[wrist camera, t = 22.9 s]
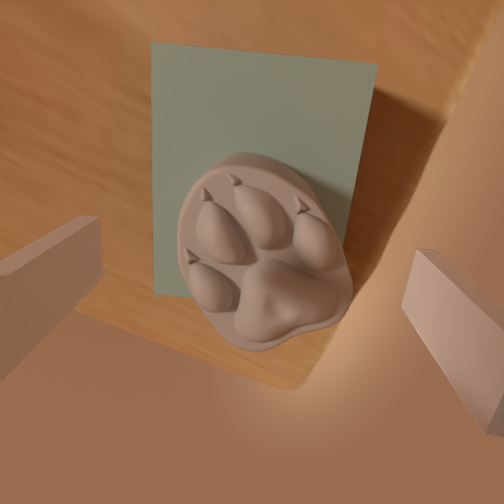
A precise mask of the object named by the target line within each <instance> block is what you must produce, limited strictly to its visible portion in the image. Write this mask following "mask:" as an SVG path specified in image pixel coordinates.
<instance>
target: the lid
mask: <svg viewBox="0 0 504 504" xmlns="http://www.w3.org/2000/svg"><path fill="white" fill-rule="evenodd" d="M377 69H378V64H376V63H365V62H355V61H344V60H334V59H323V58H313V57H302V56H292V55H281V54H271V53H260V52H250V51H239V50H228V49H218V48H207V47H197V46H186V45H176V44H165V43H155V42H151V93H152V181H153V270H154V294H157V295H167V296H177V297H187V298H193V296H192V294H191V292H190V290H189V288H188V286H187V284H186V282H185V280H184V277H183V276H182V273H181V271H180V268H179V264H178V256H177V225H178V218H179V214H180V211H181V208H182V205H183V203H184V200H185V198H186V196H187V194H188V192H189V190H190V189H191V187H192V185H193V184H194V183H195V182H196V181H197V180H198V178H199V177H200V176H201V175H202V174H203V173H205V172H206V171H207V170H208V169H209V168H210V167H211V166H212V165H213V164H214V163H215V162H216V161H218V160H219V159H220V158H222V157H224V156H226V155H228V154H231V153H235V152H251V153H257V154H261V155H265V156H268V157H271V158H273V159H275V160H277V161H279V162H281V163H282V164H284V165H285V166H287V167H289V168H290V169H291V170H293V171H294V172H296V173H297V174H298V175H300V176H301V177H302V178H303V179H304V180H305V181H306V182H307V183H308V184H309V186H310V187H311V189H312V190H313V192H314V194H315V195H316V197H317V199H318V201H319V203H320V204H321V206H322V208H323V210H324V212H325V213H326V215H327V217H328V219H329V221H330V223H331V225H332V227H333V229H334V231H335V233H336V235H337V237H338V239H339V242H340V244H341V246H342V249H343V243H344V238H345V233H346V228H347V223H348V218H349V213H350V207H351V202H352V197H353V192H354V187H355V182H356V177H357V172H358V166H359V161H360V156H361V151H362V146H363V141H364V136H365V131H366V125H367V120H368V115H369V110H370V105H371V100H372V95H373V89H374V84H375V79H376V74H377Z"/></svg>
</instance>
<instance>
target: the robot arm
mask: <svg viewBox="0 0 504 504" xmlns="http://www.w3.org/2000/svg"><path fill="white" fill-rule="evenodd" d="M102 278H103V265H102V251H101V238H100V224H99V217H94V216H84V215H80V216H78V217H76V218H75V219H73V220H71V221H69V222H68V223H66V224H64V225H62V226H61V227H59V228H57V229H55V230H54V231H52V232H50V233H48V234H47V235H45V236H43V237H41V238H40V239H38V240H36V241H34V242H33V243H31V244H29V245H27V246H26V247H24V248H22V249H20V250H18V251H17V252H15V253H13V254H11V255H10V256H8V257H6V258H4V259H3V260H1V261H0V382H1V381H2V380H3V379H4V378H5V377H6V376H7V375H8V374H9V373H10V372H11V371H12V370H13V369H14V368H15V367H16V366H17V365H18V364H19V363H20V362H21V360H23V358H24V357H25V356H26V355H27V354H28V353H29V352H30V351H31V350H32V349H33V348H34V347H35V346H36V345H37V344H38V343H39V342H40V341H41V340H42V339H43V338H44V337H45V336H46V335H47V334H48V333H49V332H50V331H51V330H52V329H53V328H54V327H55V326H56V325H57V324H58V323H59V322H60V321H61V320H62V319H63V318H64V317H65V316H66V314H68V313H69V312H70V311H71V310H72V308H73V307H74V306H75V305H76V304H77V303H78V302H79V301H80V300H81V299H82V298H83V297H84V296H85V295H86V294H87V293H88V292H89V291H90V290H91V289H92V288H93V287H94V286H95V285H96V284H97V283H98V282H99V281H100V280H101V279H102ZM400 307H401V308H402V310H403V311H404V313H405V314H406V316H407V317H408V319H409V321H410V322H411V324H412V325H413V327H414V328H415V330H416V331H417V333H418V334H419V336H420V337H421V339H422V340H423V342H424V343H425V345H426V346H427V348H428V349H429V351H430V352H431V354H432V355H433V357H434V358H435V360H436V361H437V363H438V364H439V366H440V368H441V369H442V371H443V372H444V374H445V375H446V377H447V378H448V380H449V381H450V383H451V384H452V386H453V387H454V389H455V390H456V392H457V393H458V395H459V396H460V398H461V399H462V401H463V402H464V404H465V405H466V407H467V408H468V410H469V411H470V413H471V414H472V416H473V417H474V419H475V421H476V422H477V423H478V425H479V426H480V428H481V430H482V431H483V433H484V434H485V435H493V436H503V437H504V309H503V308H502V307H501V306H500V305H499V304H498V303H496V302H495V301H494V300H493V299H492V298H490V297H489V296H488V295H487V294H486V293H485V292H483V291H482V290H481V289H480V288H479V287H478V286H476V285H475V284H474V283H473V282H472V281H471V280H470V279H468V278H467V277H466V276H465V275H464V274H462V273H461V272H460V271H459V270H458V269H457V268H455V267H454V266H453V265H452V264H451V263H450V262H449V261H447V260H446V259H445V258H444V257H443V256H442V255H440V254H439V253H438V252H437V251H436V250H427V249H417V250H416V253H415V257H414V261H413V264H412V268H411V271H410V275H409V278H408V282H407V285H406V289H405V292H404V296H403V299H402V303H401V306H400Z"/></svg>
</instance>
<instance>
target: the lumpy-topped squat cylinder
mask: <svg viewBox="0 0 504 504" xmlns="http://www.w3.org/2000/svg"><path fill="white" fill-rule="evenodd" d="M177 256H178V264H179V268H180V271H181V273H182V276H183V277H184V280H185V282H186V284H187V286H188V288H189V290H190V292H191V294H192V296H193V298H194V300H195V301H196V303H197V304H198V305H199V307H200V308H201V310H202V311H203V313H204V314H205V315H206V317H207V318H208V319H209V321H210V322H211V323H212V325H213V326H214V327H215V329H216V330H217V331H218V333H219V334H220V335H221V336H222V337H223V338H224V339H225V340H226V341H227V342H229V343H230V344H232V345H234V346H236V347H238V348H241V349H244V350H248V351H256V352H258V351H265V350H269V349H271V348H274V347H276V346H278V345H279V344H281V343H283V342H285V341H286V340H288V339H290V338H292V337H294V336H296V335H299V334H302V333H305V332H310V331H314V330H319V329H323V328H326V327H329V326H331V325H333V324H335V323H337V322H338V321H340V320H341V319H342V318H343V316H344V315H345V314H346V312H347V310H348V308H349V306H350V303H351V300H352V295H353V282H352V277H351V274H350V270H349V267H348V264H347V261H346V258H345V254H344V251H343V249H342V246H341V244H340V242H339V239H338V237H337V235H336V233H335V231H334V229H333V227H332V225H331V223H330V221H329V219H328V217H327V215H326V213H325V212H324V210H323V208H322V206H321V204H320V203H319V201H318V199H317V197H316V195H315V194H314V192H313V190H312V189H311V187H310V186H309V184H308V183H307V182H306V181H305V180H304V179H303V178H302V177H301V176H300V175H298V174H297V173H296V172H294V171H293V170H291V169H290V168H289V167H287V166H285V165H284V164H282V163H281V162H279V161H277V160H275V159H273V158H271V157H268V156H265V155H261V154H257V153H251V152H235V153H231V154H228V155H226V156H224V157H222V158H220V159H219V160H218V161H216V162H215V163H214V164H213V165H212V166H211V167H210V168H209V169H208V170H207V171H206V172H205V173H203V174H202V175H201V176H200V177H199V178H198V180H197V181H196V182H195V183H194V184H193V185H192V187H191V189H190V190H189V192H188V194H187V196H186V198H185V200H184V203H183V205H182V208H181V211H180V214H179V218H178V225H177Z"/></svg>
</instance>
